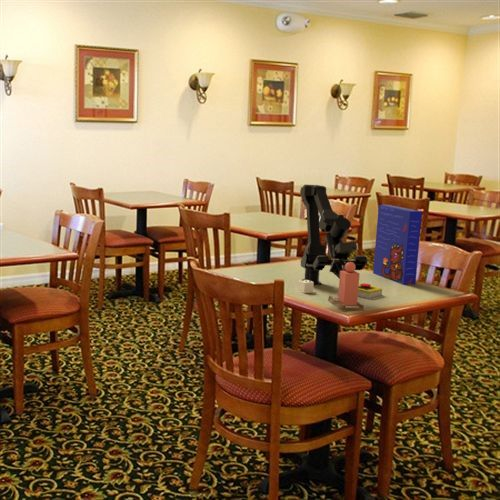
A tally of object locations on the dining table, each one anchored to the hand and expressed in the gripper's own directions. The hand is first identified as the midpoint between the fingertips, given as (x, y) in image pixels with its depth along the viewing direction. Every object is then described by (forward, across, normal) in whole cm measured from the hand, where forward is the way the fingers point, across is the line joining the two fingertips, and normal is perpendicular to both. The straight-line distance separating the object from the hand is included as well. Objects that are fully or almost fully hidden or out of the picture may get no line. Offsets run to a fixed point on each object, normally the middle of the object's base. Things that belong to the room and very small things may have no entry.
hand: (345, 283), depth 232 cm
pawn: (+7, 0, +3) cm, 7 cm away
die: (-8, -7, +20) cm, 22 cm away
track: (+6, 0, +5) cm, 8 cm away
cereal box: (-23, +39, +34) cm, 57 cm away
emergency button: (-4, +14, +16) cm, 22 cm away
